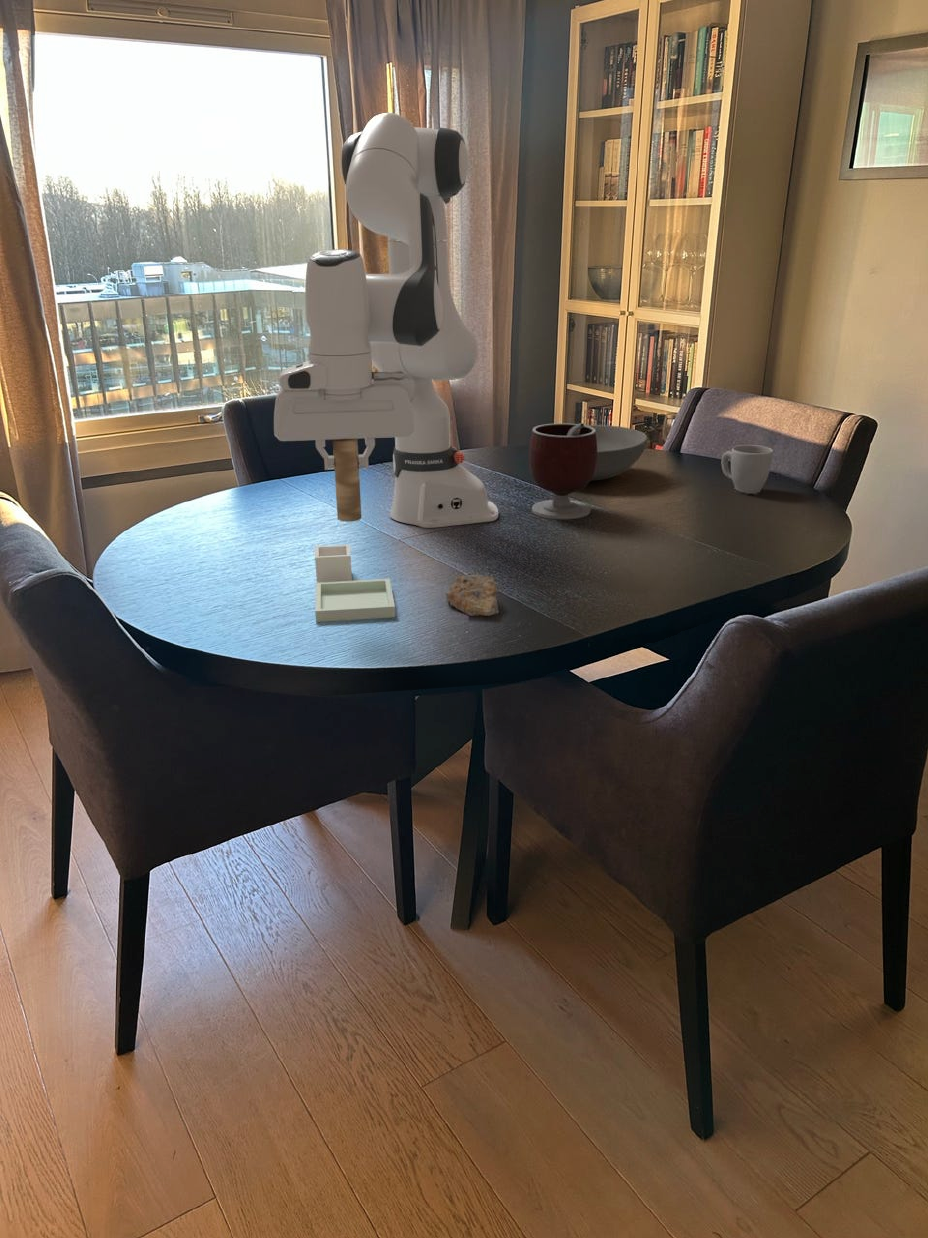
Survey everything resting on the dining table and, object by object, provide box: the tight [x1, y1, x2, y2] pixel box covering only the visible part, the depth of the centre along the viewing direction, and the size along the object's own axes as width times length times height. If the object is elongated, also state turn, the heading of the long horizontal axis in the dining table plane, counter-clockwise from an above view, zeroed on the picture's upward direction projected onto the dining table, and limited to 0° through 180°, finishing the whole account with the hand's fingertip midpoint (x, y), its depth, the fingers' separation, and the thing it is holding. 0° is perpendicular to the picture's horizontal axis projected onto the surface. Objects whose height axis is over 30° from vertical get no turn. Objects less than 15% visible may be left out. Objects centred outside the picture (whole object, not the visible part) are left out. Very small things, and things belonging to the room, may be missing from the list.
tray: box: [314, 578, 396, 623], centre depth 144 cm, size 12×12×2 cm
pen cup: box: [314, 544, 353, 583], centre depth 154 cm, size 6×6×6 cm
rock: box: [445, 574, 499, 617], centre depth 144 cm, size 9×6×10 cm
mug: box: [720, 444, 774, 493], centre depth 205 cm, size 12×9×10 cm
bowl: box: [585, 424, 649, 482], centre depth 217 cm, size 26×26×10 cm
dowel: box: [332, 439, 362, 523], centre depth 137 cm, size 4×4×12 cm
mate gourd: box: [528, 422, 597, 520], centre depth 189 cm, size 16×14×20 cm
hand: (346, 468), depth 136 cm, fingers closed on dowel, 4 cm apart
